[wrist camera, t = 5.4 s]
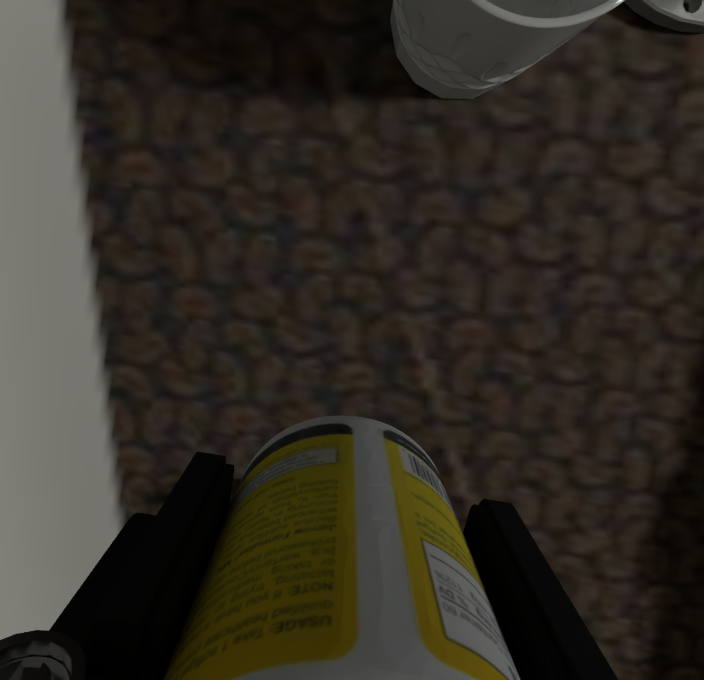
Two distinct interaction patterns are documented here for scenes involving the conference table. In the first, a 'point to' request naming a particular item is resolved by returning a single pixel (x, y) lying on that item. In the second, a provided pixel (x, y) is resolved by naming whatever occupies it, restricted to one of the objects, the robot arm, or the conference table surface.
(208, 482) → the robot arm
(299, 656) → the supplement bottle
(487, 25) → the white cup
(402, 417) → the conference table surface
